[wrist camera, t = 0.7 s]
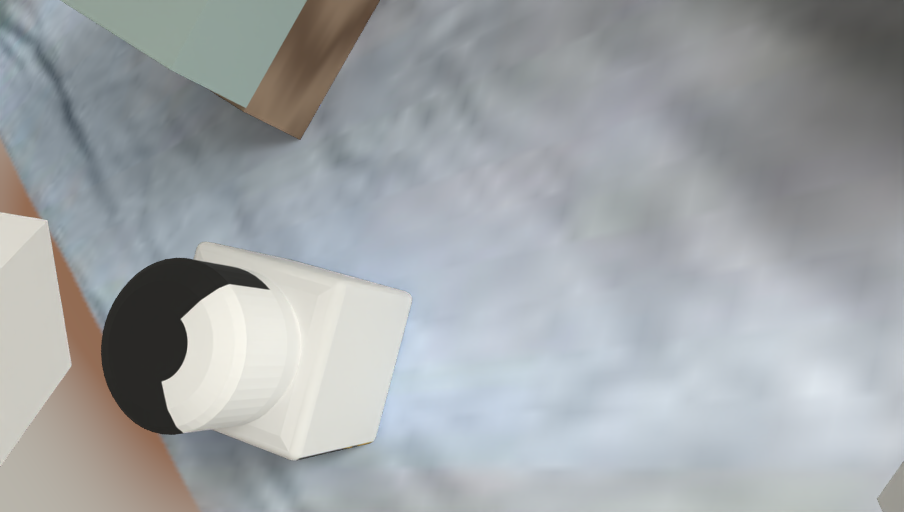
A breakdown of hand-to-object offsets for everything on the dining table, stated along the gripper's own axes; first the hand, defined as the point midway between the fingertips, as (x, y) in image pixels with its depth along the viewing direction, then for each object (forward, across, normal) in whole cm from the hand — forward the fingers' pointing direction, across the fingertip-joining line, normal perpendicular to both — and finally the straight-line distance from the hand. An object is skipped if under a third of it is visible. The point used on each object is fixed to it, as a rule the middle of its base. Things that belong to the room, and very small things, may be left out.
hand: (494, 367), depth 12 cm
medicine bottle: (+20, -5, -18) cm, 27 cm away
